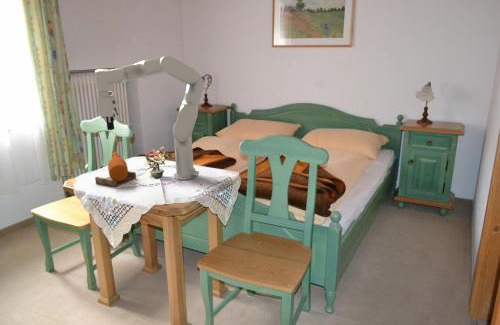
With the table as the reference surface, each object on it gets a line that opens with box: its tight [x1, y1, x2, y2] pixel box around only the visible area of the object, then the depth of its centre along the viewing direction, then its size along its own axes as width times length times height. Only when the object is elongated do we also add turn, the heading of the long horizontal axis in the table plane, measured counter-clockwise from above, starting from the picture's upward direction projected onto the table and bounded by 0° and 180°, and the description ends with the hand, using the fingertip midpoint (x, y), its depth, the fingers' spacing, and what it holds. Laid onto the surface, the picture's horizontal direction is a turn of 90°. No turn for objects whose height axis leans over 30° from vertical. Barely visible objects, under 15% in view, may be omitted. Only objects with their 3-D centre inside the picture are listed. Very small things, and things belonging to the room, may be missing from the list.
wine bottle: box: [107, 151, 129, 181], centre depth 215 cm, size 10×10×30 cm
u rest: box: [94, 170, 137, 188], centre depth 210 cm, size 14×15×4 cm
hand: (111, 129), depth 202 cm, fingers closed
